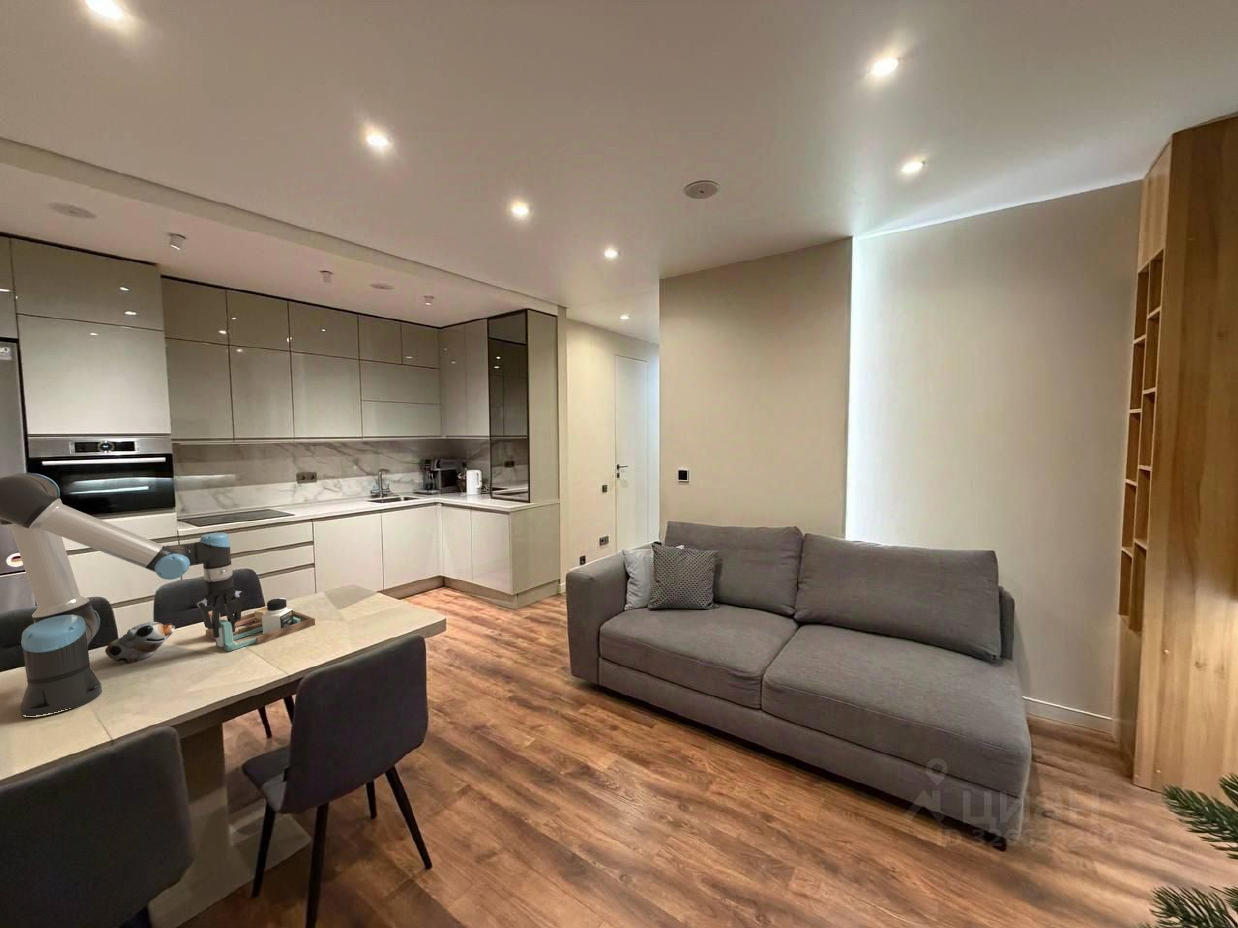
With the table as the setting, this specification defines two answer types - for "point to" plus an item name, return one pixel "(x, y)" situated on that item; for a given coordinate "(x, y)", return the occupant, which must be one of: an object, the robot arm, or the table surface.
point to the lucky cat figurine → (139, 642)
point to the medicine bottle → (277, 615)
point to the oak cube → (260, 614)
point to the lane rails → (304, 623)
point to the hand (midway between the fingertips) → (225, 643)
